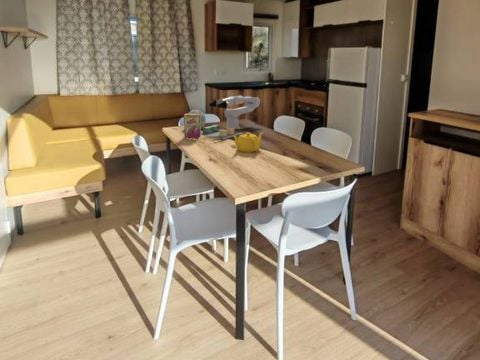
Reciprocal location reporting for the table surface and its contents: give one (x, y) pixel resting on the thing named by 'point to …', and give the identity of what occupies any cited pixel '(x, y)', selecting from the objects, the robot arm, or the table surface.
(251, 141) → the teapot
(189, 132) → the candy bar box
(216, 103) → the robot arm
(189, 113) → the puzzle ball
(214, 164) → the table surface
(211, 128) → the beam
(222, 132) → the board
